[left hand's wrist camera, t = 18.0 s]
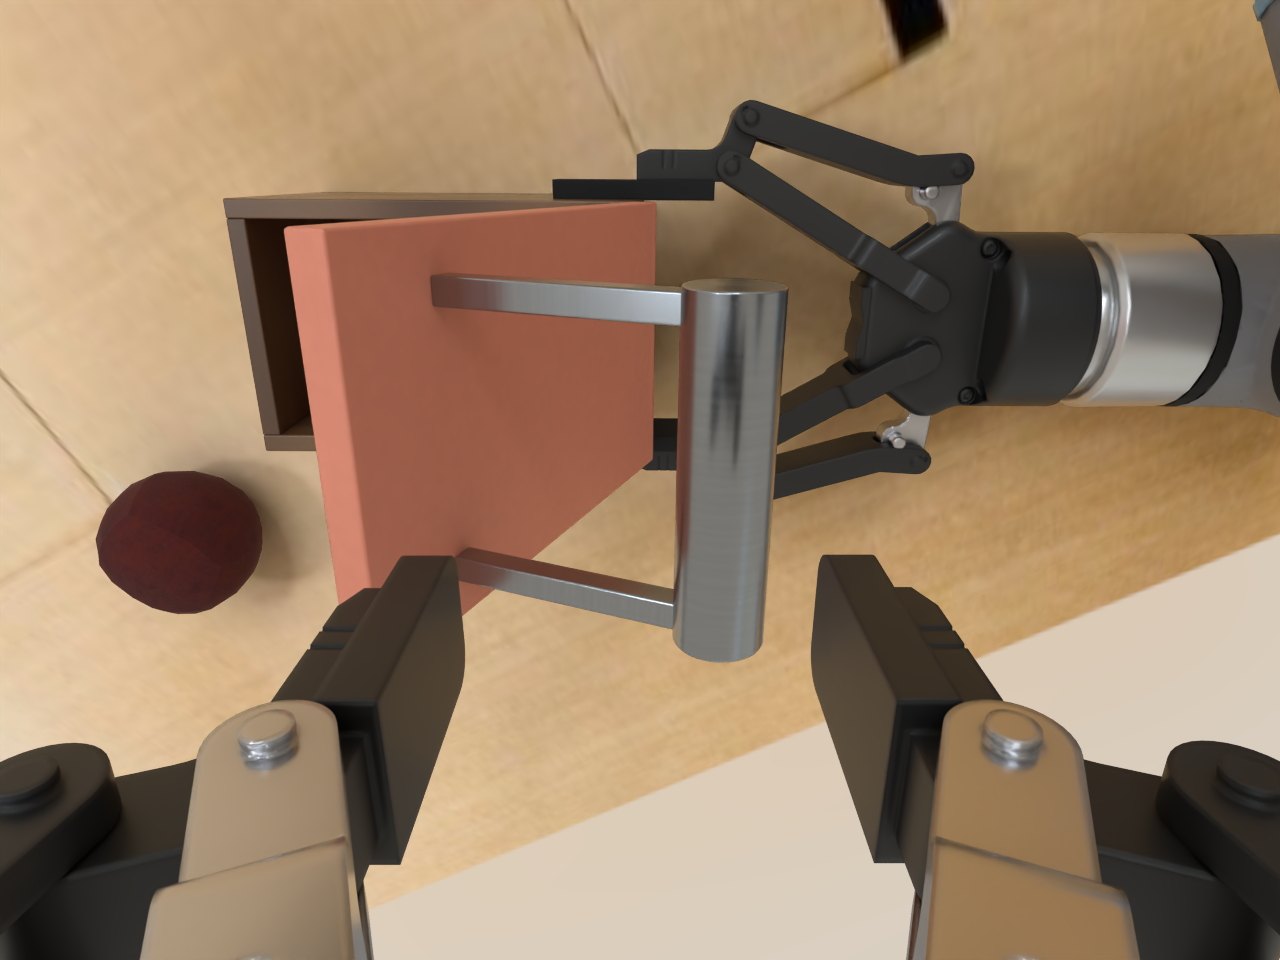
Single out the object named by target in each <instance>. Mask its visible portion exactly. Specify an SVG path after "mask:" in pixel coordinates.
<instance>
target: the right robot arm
mask: <svg viewBox="0 0 1280 960" xmlns="http://www.w3.org/2000/svg"><path fill="white" fill-rule="evenodd" d="M1253 9H1254V12H1255V15H1256V18H1257V21H1260V22H1261V25H1262V28H1263V32H1264V36H1265V40H1266V43H1267V47H1268V51H1269V54H1270V58H1271V62H1272V66H1273V69H1274V73H1275V77H1276V80H1277V84H1278V88H1279V92H1280V0H1255V3H1254V5H1253ZM756 141H757V142H760V143H763V144H766V145H769V146H772V147H775V148H778V149H781V150H784V151H787V152H790V153H793V154H796V155H799V156H802V157H805V158H808V159H811V160H814V161H817V162H820V163H823V164H826V165H829V166H832V167H835V168H838V169H841V170H844V171H847V172H850V173H853V174H856V175H859V176H862V177H865V178H868V179H871V180H874V181H877V182H881V183H884V184H888V185H896V186H905V196H906V199H907V201H908V202H909V203H910V204H912V205H914V206H919V207H921V208H923V209H924V210H925V211H926V212H927V215H928V222H927V223H926V224H924V225H923V226H921V227H920V228H918V229H917V230H915V231H914V232H912V233H911V234H909V235H908V236H907V237H905V238H904V239H902V240H901V241H899V242H898V243H896V244H895V245H893V246H892V247H891V248H888V247H886V246H885V245H883V244H882V243H880V242H878V241H877V240H875V239H874V238H872V237H870V236H868V235H866V234H865V233H863V232H861V231H860V230H858V229H857V228H855V227H854V226H852V225H851V224H849V223H848V222H846V221H845V220H843V219H841V218H840V217H838V216H837V215H835V214H834V213H832V212H831V211H829V210H828V209H826V208H825V207H823V206H822V205H820V204H819V203H817V202H815V201H814V200H812V199H811V198H809V197H808V196H806V195H805V194H803V193H802V192H800V191H799V190H797V189H796V188H794V187H792V186H791V185H789V184H788V183H786V182H785V181H783V180H782V179H780V178H779V177H777V176H776V175H774V174H773V173H771V172H770V171H768V170H766V169H765V168H763V167H762V166H760V165H759V164H757V163H756V162H754V161H753V160H751V159H750V156H751V153H752V150H753V148H754V145H755V143H756ZM973 172H974V162H973V160H972V158H971V157H970V156H969V155H967V154H964V153H953V154H936V155H919V156H918V155H915V154H912V153H909V152H906V151H903V150H900V149H897V148H894V147H891V146H889V145H886V144H883V143H880V142H877V141H874V140H871V139H868V138H865V137H862V136H859V135H856V134H853V133H850V132H847V131H844V130H841V129H838V128H835V127H832V126H829V125H826V124H823V123H820V122H818V121H815V120H812V119H809V118H806V117H803V116H800V115H797V114H794V113H791V112H788V111H785V110H782V109H779V108H776V107H773V106H770V105H767V104H764V103H761V102H758V101H754V100H749V101H746V102H743V103H742V104H740V105H739V106H738V107H736V108H735V109H734V110H733V111H732V113H731V115H730V119H729V122H728V125H727V128H726V130H725V133H724V136H723V138H722V140H721V142H720V143H719V144H718V145H717V146H716V147H715V148H713V149H710V150H663V149H649V150H647V151H644V152H642V153H640V154H637V180H630V179H553V199H642V200H704V201H714V187H715V182H723V183H725V184H726V185H728V186H729V187H731V188H732V189H734V190H735V191H737V192H739V193H740V194H742V195H743V196H745V197H746V198H748V199H749V200H751V201H753V202H754V203H756V204H757V205H759V206H760V207H762V208H763V209H765V210H767V211H768V212H770V213H771V214H773V215H774V216H776V217H778V218H779V219H781V220H782V221H784V222H785V223H787V224H788V225H790V226H792V227H793V228H795V229H796V230H798V231H799V232H801V233H802V234H804V235H806V236H807V237H809V238H810V239H812V240H813V241H815V242H816V243H818V244H820V245H821V246H823V247H824V248H826V249H827V250H829V251H830V252H832V253H834V254H835V255H836V256H838V257H839V258H841V259H842V260H844V261H845V262H847V263H848V264H850V265H851V266H853V267H855V268H856V269H858V270H859V271H860V272H859V273H858V275H857V277H856V279H855V281H851V286H850V297H849V300H850V306H851V312H852V318H851V321H850V324H849V326H848V329H847V332H846V337H845V347H844V350H845V351H846V352H847V353H848V357H846V358H844V359H843V360H841V361H839V362H837V363H835V364H833V365H832V366H830V367H829V368H828V369H827V370H826V371H825V372H824V373H823V374H822V375H820V376H818V377H816V378H814V379H812V380H810V381H809V382H807V383H805V384H803V385H801V386H799V387H797V388H796V389H794V390H792V391H790V392H788V393H786V394H784V395H782V396H781V398H780V411H779V425H778V439H777V445H779V444H781V443H783V442H785V441H787V440H789V439H791V438H792V437H794V436H796V435H798V434H800V433H802V432H804V431H806V430H808V429H810V428H811V427H813V426H815V425H817V424H819V423H821V422H823V421H825V420H827V419H829V418H831V417H832V416H834V415H836V414H838V413H840V412H842V411H844V410H846V409H851V408H857V407H860V406H862V405H864V404H866V403H868V402H870V401H872V400H874V399H876V398H877V397H879V396H881V395H883V394H887V395H888V396H889V397H891V398H892V399H893V400H894V401H896V402H897V403H898V404H900V405H901V406H902V407H903V408H904V409H903V412H902V414H901V415H900V416H899V417H898V418H896V419H894V420H890V421H886V422H883V423H882V424H881V425H880V426H879V427H878V429H877V432H862V433H856V434H852V435H848V436H844V437H840V438H837V439H833V440H829V441H825V442H822V443H818V444H814V445H810V446H807V447H803V448H799V449H795V450H792V451H788V452H784V453H781V454H777V455H776V466H775V480H774V494H773V500H774V499H777V498H781V497H785V496H789V495H793V494H797V493H800V492H804V491H808V490H812V489H816V488H819V487H823V486H827V485H831V484H835V483H839V482H842V481H846V480H850V479H854V478H858V477H862V476H865V475H869V474H873V473H877V472H890V473H906V474H921V473H923V472H925V471H926V470H927V469H928V468H929V466H930V464H931V457H930V455H929V453H928V452H927V451H926V450H925V449H924V446H925V442H926V437H927V432H928V427H929V422H930V418H931V415H934V414H936V413H938V412H940V411H942V410H944V409H947V408H950V407H953V406H959V405H967V406H1050V405H1053V404H1056V403H1057V402H1060V403H1062V404H1063V405H1065V406H1073V407H1095V406H1202V407H1238V408H1248V409H1254V410H1259V411H1263V412H1266V413H1269V414H1272V415H1274V416H1277V417H1280V234H1258V235H1198V234H1177V233H1085V234H1083V235H1081V236H1079V237H1076V236H1074V235H1072V234H1070V233H1063V232H976V231H974V230H972V229H970V228H968V227H967V226H965V225H964V224H962V223H960V222H959V217H960V205H961V193H962V184H964V183H965V182H967V181H968V180H969V179H970V178H971V176H972V175H973ZM677 434H678V419H675V418H653V459H652V460H651V461H650V462H649V463H648V464H646V465H645V466H644V467H643V468H642V469H644V470H677Z"/></svg>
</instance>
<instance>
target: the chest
mask: <svg viewBox="0 0 1280 960" xmlns="http://www.w3.org/2000/svg"><path fill="white" fill-rule="evenodd" d="M223 202H224V208H225V213H226V218H228V219H227V225H228V231H229V237H230V242H231V248H232V254H233V260H234V266H235V272H236V277H237V283H238V289H239V295H240V301H241V307H242V312H243V318H244V324H245V330H246V336H247V342H248V347H249V353H250V359H251V365H252V371H253V377H254V382H255V388H256V394H257V400H258V406H259V412H260V417H261V423H262V429H263V434H264V440H265V446H266V450H267V451H316V445H315V438H314V432H313V425H312V418H311V411H310V405H309V398H308V391H307V384H306V377H305V371H304V364H303V357H302V350H301V344H300V337H299V330H298V323H297V316H296V310H295V303H294V296H293V289H292V282H291V276H290V269H289V262H288V255H287V249H286V242H285V235H284V229H285V228H286V227H288V226H301V225H315V224H329V223H343V222H357V221H371V220H385V219H399V218H413V217H427V216H441V215H455V214H469V213H483V212H497V211H511V210H525V209H539V208H553V207H567V206H581V205H595V204H609V203H623V202H644V200H642V199H553V194H488V193H352V192H321V193H304V194H287V195H271V196H255V197H238V198H224V199H223Z"/></svg>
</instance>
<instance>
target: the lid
mask: <svg viewBox="0 0 1280 960" xmlns="http://www.w3.org/2000/svg"><path fill="white" fill-rule="evenodd" d="M284 235H285V242H286V249H287V255H288V262H289V269H290V276H291V282H292V289H293V296H294V303H295V310H296V316H297V323H298V330H299V337H300V344H301V350H302V357H303V364H304V371H305V377H306V384H307V391H308V398H309V405H310V411H311V418H312V425H313V432H314V438H315V445H316V452H317V459H318V466H319V472H320V479H321V486H322V493H323V500H324V506H325V513H326V520H327V527H328V533H329V540H330V547H331V554H332V561H333V567H334V574H335V581H336V588H337V594H338V601H339V605H340V604H341V603H343V602H344V601H346V600H347V599H349V598H350V597H352V596H353V595H355V594H356V593H358V592H359V591H361V590H362V589H364V588H381V587H382V586H383V584H384V582H385V581H386V579H387V577H388V576H389V574H390V573H391V571H392V569H393V568H394V566H395V565H396V563H397V561H398V560H399V558H400V557H401V556H404V555H452V556H453V557H454V558H455V561H456V564H457V569H458V578H459V589H460V600H461V610H462V616H463V615H464V614H465V613H467V612H468V611H469V610H470V609H471V608H473V607H474V606H475V605H476V604H477V603H479V602H480V601H481V600H482V599H484V598H485V597H486V596H487V595H488V594H490V593H491V592H492V591H493V590H495V589H497V590H502V591H506V592H510V593H515V594H519V595H524V596H528V597H532V598H537V599H541V600H546V601H550V602H554V603H559V604H563V605H568V606H572V607H576V608H581V609H585V610H590V611H594V612H598V613H603V614H607V615H612V616H616V617H620V618H625V619H629V620H634V621H638V622H643V623H647V624H651V625H656V626H660V627H665V628H669V629H673V634H672V635H673V640H674V642H675V644H676V645H677V647H678V648H679V649H680V650H682V651H683V652H684V653H686V654H688V655H690V656H692V657H694V658H697V659H700V660H704V661H709V662H721V663H722V662H734V661H739V660H743V659H746V658H748V657H750V656H752V655H753V654H755V653H756V652H757V651H758V650H759V649H760V647H761V645H762V643H763V631H764V618H765V604H766V590H767V576H768V563H769V549H770V535H771V521H772V508H773V494H774V480H775V466H776V453H777V439H778V425H779V411H780V398H781V384H782V370H783V356H784V343H785V329H786V315H787V301H788V286H787V285H785V284H782V283H779V282H774V281H767V280H758V279H742V278H712V279H698V280H692V281H687V282H685V283H683V284H682V286H681V287H676V286H660V285H655V258H656V203H655V202H623V203H609V204H595V205H581V206H567V207H553V208H539V209H525V210H511V211H497V212H483V213H469V214H455V215H441V216H427V217H413V218H399V219H385V220H371V221H357V222H343V223H329V224H315V225H301V226H288V227H286V228H285V229H284ZM655 325H666V326H678V327H680V355H679V395H678V434H677V474H676V514H675V554H674V589H670V588H665V587H660V586H655V585H650V584H646V583H641V582H636V581H631V580H626V579H622V578H617V577H612V576H607V575H602V574H597V573H593V572H588V571H583V570H578V569H573V568H569V567H564V566H559V565H554V564H549V563H545V562H540V561H535V560H531V559H532V558H533V557H535V556H536V555H537V554H538V553H539V552H541V551H542V550H543V549H544V548H546V547H547V546H548V545H549V544H550V543H552V542H553V541H554V540H555V539H557V538H558V537H559V536H560V535H561V534H563V533H564V532H565V531H566V530H567V529H569V528H570V527H571V526H572V525H574V524H575V523H576V522H577V521H578V520H580V519H581V518H582V517H583V516H584V515H586V514H587V513H588V512H589V511H591V510H592V509H593V508H594V507H595V506H597V505H598V504H599V503H600V502H601V501H603V500H604V499H605V498H606V497H608V496H609V495H610V494H611V493H612V492H614V491H615V490H616V489H617V488H619V487H620V486H621V485H622V484H623V483H625V482H626V481H627V480H628V479H629V478H631V477H632V476H633V475H634V474H636V473H637V472H638V471H639V470H640V469H642V468H643V467H644V466H645V465H646V464H648V463H649V462H650V461H651V460H652V459H653V406H654V332H655Z"/></svg>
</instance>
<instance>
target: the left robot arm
mask: <svg viewBox="0 0 1280 960" xmlns="http://www.w3.org/2000/svg"><path fill="white" fill-rule="evenodd" d="M811 667H812V676H813V682H814V686H815V690H816V693H817V696H818V699H819V702H820V705H821V708H822V711H823V713H824V716H825V719H826V722H827V725H828V728H829V731H830V734H831V737H832V740H833V743H834V746H835V749H836V752H837V755H838V758H839V760H840V764H841V767H842V770H843V773H844V775H845V778H846V781H847V784H848V787H849V790H850V793H851V796H852V799H853V802H854V805H855V808H856V811H857V814H858V817H859V820H860V823H861V826H862V829H863V831H864V835H865V837H866V840H867V843H868V846H869V849H870V852H871V855H872V858H873V861H874V863H905V865H906V868H907V870H908V873H909V875H910V878H911V880H912V883H913V886H914V888H915V893H914V899H913V905H912V913H911V921H910V930H909V939H908V948H907V957H906V960H1279V958H1280V761H1278V760H1276V759H1274V758H1272V757H1269V756H1267V755H1265V754H1262V753H1259V752H1257V751H1254V750H1251V749H1248V748H1244V747H1241V746H1237V745H1233V744H1229V743H1223V742H1216V741H1191V742H1187V743H1183V744H1181V745H1179V746H1176V747H1175V748H1174V749H1173V750H1172V751H1171V752H1170V754H1169V756H1168V758H1167V761H1166V765H1165V768H1164V772H1163V775H1162V777H1161V776H1156V775H1151V774H1147V773H1142V772H1137V771H1133V770H1128V769H1123V768H1118V767H1113V766H1109V765H1104V764H1099V763H1096V762H1092V761H1088V760H1084V759H1083V754H1082V751H1081V748H1080V746H1079V745H1078V743H1077V741H1076V740H1075V739H1074V738H1073V736H1072V735H1071V734H1070V733H1069V732H1068V731H1067V730H1066V729H1065V728H1063V727H1062V726H1061V725H1059V724H1058V723H1057V722H1055V721H1054V720H1052V719H1051V718H1049V717H1047V716H1045V715H1043V714H1041V713H1039V712H1037V711H1035V710H1033V709H1030V708H1027V707H1024V706H1021V705H1018V704H1014V703H1010V702H1005V701H1003V699H1002V698H1001V697H1000V695H999V694H998V692H997V691H996V689H995V688H994V686H993V685H992V684H991V682H990V681H989V679H988V678H987V676H986V675H985V673H984V672H983V670H982V669H981V667H980V666H979V665H978V663H977V662H976V660H975V659H974V657H973V656H972V654H971V653H970V651H969V650H968V649H967V648H964V643H963V641H962V640H961V638H960V637H959V635H958V634H957V632H956V631H953V630H952V625H951V624H950V622H949V621H948V619H947V618H946V616H945V615H944V614H943V612H942V611H941V609H940V608H939V606H938V605H937V604H935V603H934V602H932V601H931V600H929V599H928V598H926V597H925V596H923V595H922V594H920V593H919V592H917V591H916V590H915V589H913V588H912V587H894V586H893V584H892V583H891V581H890V579H889V578H888V576H887V574H886V573H885V571H884V570H883V568H882V566H881V565H880V563H879V561H878V560H877V558H876V557H875V556H874V555H823V556H822V557H821V559H820V563H819V568H818V577H817V588H816V599H815V610H814V621H813V632H812V643H811ZM464 668H465V643H464V632H463V621H462V610H461V600H460V589H459V578H458V569H457V564H456V561H455V558H454V557H453V556H452V555H404V556H401V557H400V558H399V560H398V561H397V563H396V565H395V566H394V568H393V569H392V571H391V573H390V574H389V576H388V577H387V579H386V581H385V582H384V584H383V586H382V587H381V588H364V589H362V590H361V591H359V592H358V593H356V594H355V595H353V596H352V597H350V598H349V599H347V600H346V601H344V602H343V603H341V604H340V605H338V606H337V608H336V609H335V610H334V612H333V613H332V615H331V616H330V618H329V619H328V620H327V622H326V623H325V625H324V626H323V631H322V632H319V633H318V635H317V636H316V638H315V639H314V641H313V642H312V643H311V648H310V649H307V651H306V652H305V653H304V655H303V656H302V658H301V659H300V661H299V662H298V664H297V665H296V666H295V668H294V669H293V671H292V672H291V674H290V675H289V676H288V678H287V679H286V681H285V682H284V684H283V685H282V687H281V688H280V689H279V691H278V692H277V694H276V695H275V697H274V698H273V699H272V701H271V702H270V703H266V704H262V705H258V706H256V707H253V708H250V709H247V710H245V711H243V712H241V713H239V714H236V715H235V716H233V717H231V718H229V719H228V720H226V721H225V722H223V723H222V724H221V725H219V726H218V727H217V728H215V729H214V730H213V731H212V732H211V733H210V734H209V735H208V736H207V738H206V739H205V740H204V741H203V743H202V745H201V746H200V748H199V751H198V754H197V759H194V760H191V761H188V762H184V763H180V764H176V765H172V766H167V767H162V768H158V769H153V770H148V771H143V772H139V773H134V774H129V775H124V776H120V777H114V774H113V770H112V767H111V764H110V760H109V758H108V756H107V754H106V753H105V752H104V751H103V750H102V749H100V748H98V747H96V746H93V745H89V744H82V743H63V744H56V745H50V746H45V747H41V748H37V749H33V750H30V751H27V752H24V753H21V754H18V755H16V756H13V757H11V758H8V759H6V760H4V761H2V762H0V960H374V957H373V948H372V939H371V930H370V922H369V912H368V905H367V899H366V893H365V887H364V881H363V880H364V877H365V875H366V872H367V869H368V867H369V865H400V864H401V861H402V858H403V856H404V853H405V850H406V847H407V844H408V841H409V838H410V835H411V832H412V830H413V827H414V824H415V821H416V818H417V815H418V812H419V809H420V806H421V804H422V801H423V798H424V795H425V792H426V789H427V786H428V783H429V780H430V777H431V775H432V772H433V769H434V766H435V763H436V760H437V757H438V754H439V751H440V749H441V746H442V743H443V740H444V737H445V734H446V731H447V728H448V725H449V723H450V720H451V717H452V714H453V711H454V708H455V705H456V702H457V699H458V696H459V694H460V691H461V687H462V683H463V677H464Z"/></svg>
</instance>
